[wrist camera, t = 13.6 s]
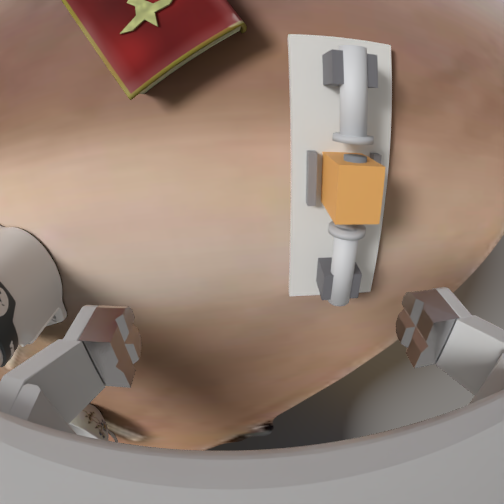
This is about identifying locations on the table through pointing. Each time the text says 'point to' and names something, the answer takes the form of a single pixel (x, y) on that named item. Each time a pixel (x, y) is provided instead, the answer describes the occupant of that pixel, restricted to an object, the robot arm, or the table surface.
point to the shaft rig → (334, 140)
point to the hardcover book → (152, 35)
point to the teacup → (91, 424)
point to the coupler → (352, 188)
